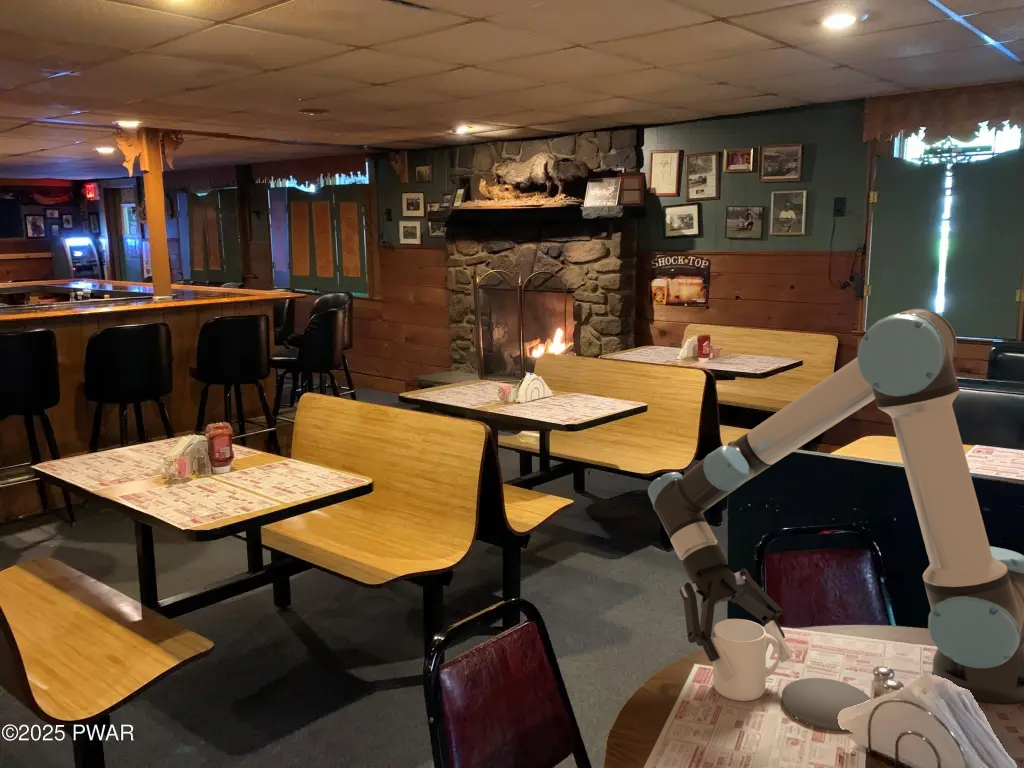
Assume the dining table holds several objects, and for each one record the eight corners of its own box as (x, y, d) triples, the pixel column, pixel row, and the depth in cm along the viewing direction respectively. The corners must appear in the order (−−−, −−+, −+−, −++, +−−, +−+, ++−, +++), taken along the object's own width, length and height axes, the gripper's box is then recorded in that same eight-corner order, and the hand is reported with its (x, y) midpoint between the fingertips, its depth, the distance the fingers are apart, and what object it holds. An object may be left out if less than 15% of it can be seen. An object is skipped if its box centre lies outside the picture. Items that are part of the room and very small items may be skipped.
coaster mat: (870, 689, 136) (870, 684, 135) (878, 736, 123) (878, 730, 122) (782, 678, 140) (782, 673, 140) (780, 722, 127) (780, 716, 127)
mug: (793, 695, 135) (794, 634, 133) (727, 706, 133) (727, 644, 131) (767, 670, 143) (767, 613, 142) (704, 680, 141) (704, 622, 139)
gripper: (741, 550, 154) (800, 659, 143) (635, 575, 144) (690, 695, 133) (761, 531, 149) (824, 643, 137) (652, 556, 138) (711, 679, 127)
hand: (758, 669), depth 135 cm, fingers closed on mug, 12 cm apart
